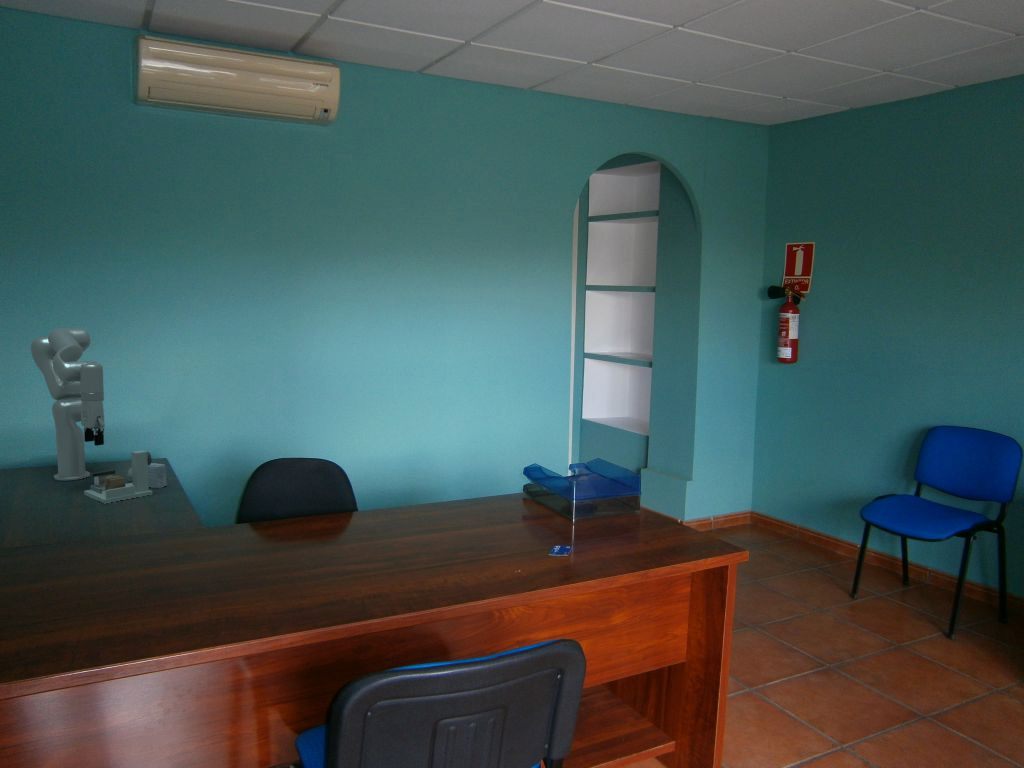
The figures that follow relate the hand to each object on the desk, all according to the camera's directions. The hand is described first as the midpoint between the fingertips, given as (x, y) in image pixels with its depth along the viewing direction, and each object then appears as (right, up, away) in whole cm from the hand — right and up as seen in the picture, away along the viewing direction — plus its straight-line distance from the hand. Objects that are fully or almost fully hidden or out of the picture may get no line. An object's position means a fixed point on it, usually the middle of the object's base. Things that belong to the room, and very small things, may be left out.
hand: (94, 443), depth 295 cm
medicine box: (+19, -18, +8) cm, 27 cm away
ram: (+5, -17, -3) cm, 17 cm away
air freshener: (+10, -17, +15) cm, 25 cm away
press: (+11, -19, -4) cm, 22 cm away
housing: (+12, -18, -9) cm, 23 cm away
